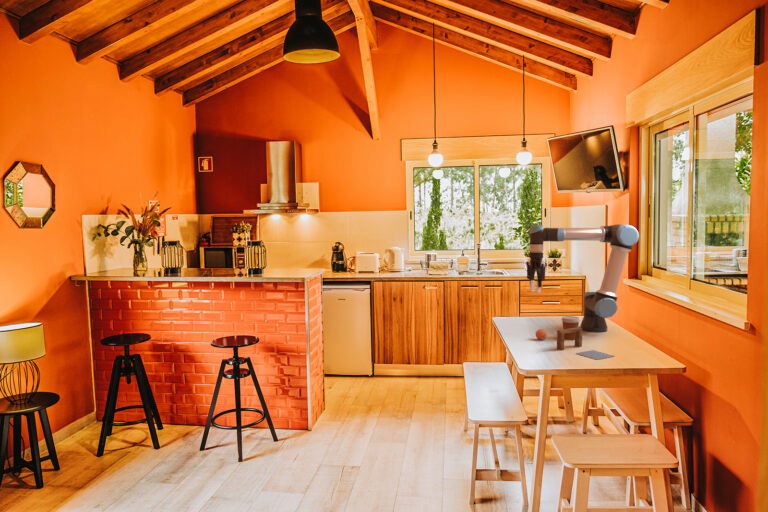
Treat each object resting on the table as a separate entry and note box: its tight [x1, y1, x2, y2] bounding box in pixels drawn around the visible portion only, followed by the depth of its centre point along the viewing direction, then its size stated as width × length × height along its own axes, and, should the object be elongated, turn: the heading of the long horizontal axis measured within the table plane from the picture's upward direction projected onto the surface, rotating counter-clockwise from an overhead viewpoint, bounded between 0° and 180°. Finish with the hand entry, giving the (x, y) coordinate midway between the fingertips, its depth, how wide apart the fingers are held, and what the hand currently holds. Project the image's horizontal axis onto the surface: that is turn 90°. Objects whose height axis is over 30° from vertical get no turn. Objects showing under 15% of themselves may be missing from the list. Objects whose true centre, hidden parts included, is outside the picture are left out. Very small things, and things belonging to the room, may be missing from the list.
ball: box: [535, 328, 548, 341], centre depth 286 cm, size 6×6×6 cm
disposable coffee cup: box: [561, 315, 581, 341], centre depth 288 cm, size 10×10×12 cm
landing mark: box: [575, 349, 615, 361], centre depth 255 cm, size 13×13×1 cm
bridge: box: [556, 326, 583, 351], centre depth 268 cm, size 3×15×10 cm, turn 118°
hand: (535, 292), depth 298 cm, fingers open, 4 cm apart
